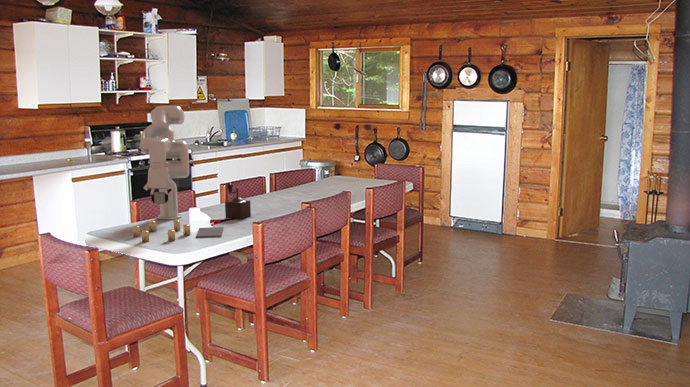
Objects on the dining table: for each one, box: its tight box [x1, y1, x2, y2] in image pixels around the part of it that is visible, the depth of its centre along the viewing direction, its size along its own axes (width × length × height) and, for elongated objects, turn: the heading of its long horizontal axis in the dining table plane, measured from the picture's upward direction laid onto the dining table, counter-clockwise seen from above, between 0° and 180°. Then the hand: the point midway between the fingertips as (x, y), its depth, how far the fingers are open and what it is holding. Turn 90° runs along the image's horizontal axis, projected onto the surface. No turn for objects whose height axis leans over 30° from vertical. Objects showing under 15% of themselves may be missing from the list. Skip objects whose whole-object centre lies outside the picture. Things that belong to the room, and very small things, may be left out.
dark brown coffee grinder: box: [224, 183, 252, 221], centre depth 344 cm, size 16×11×18 cm
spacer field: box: [132, 219, 191, 243], centre depth 302 cm, size 24×27×5 cm
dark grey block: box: [153, 191, 165, 205], centre depth 300 cm, size 6×5×5 cm
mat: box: [195, 226, 224, 239], centre depth 308 cm, size 18×12×1 cm, turn 8°
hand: (160, 202), depth 300 cm, fingers closed on dark grey block, 5 cm apart
